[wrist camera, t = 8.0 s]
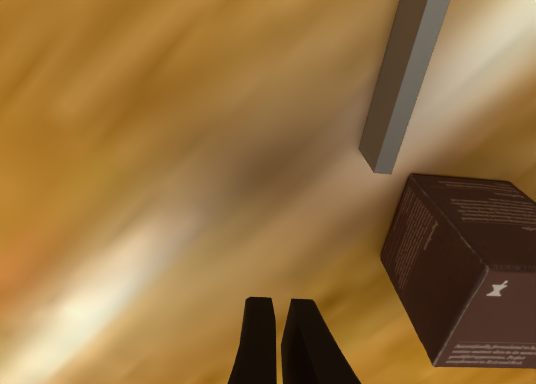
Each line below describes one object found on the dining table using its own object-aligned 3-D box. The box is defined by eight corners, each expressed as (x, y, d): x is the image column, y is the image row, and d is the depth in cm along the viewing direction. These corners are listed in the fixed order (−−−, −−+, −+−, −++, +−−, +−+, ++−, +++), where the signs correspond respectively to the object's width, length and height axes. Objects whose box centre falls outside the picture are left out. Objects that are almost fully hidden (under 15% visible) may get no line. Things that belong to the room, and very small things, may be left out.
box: (376, 257, 23) (427, 369, 16) (408, 169, 20) (487, 266, 13) (468, 263, 23) (552, 372, 17) (513, 180, 20) (635, 275, 14)
